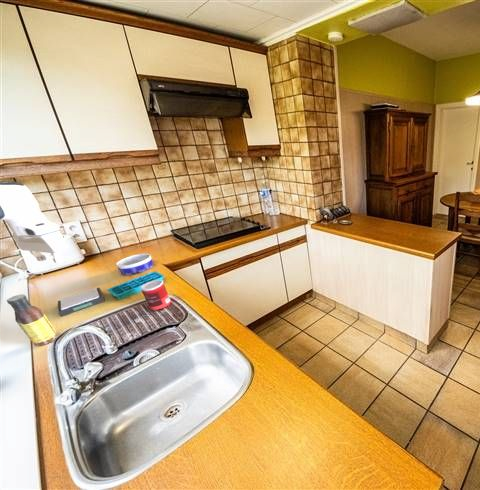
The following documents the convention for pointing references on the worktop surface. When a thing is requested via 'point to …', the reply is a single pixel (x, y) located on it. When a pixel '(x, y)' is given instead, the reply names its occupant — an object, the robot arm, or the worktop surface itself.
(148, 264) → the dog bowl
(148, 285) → the canned food
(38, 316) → the sauce bottle
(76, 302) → the scale
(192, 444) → the worktop surface
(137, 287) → the ice cube tray
